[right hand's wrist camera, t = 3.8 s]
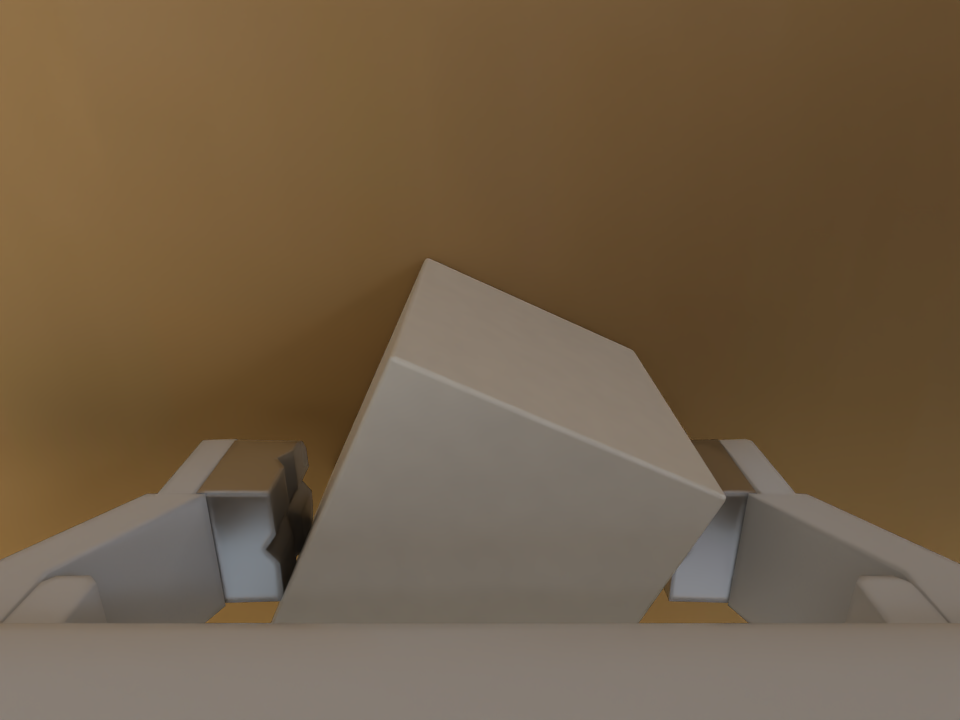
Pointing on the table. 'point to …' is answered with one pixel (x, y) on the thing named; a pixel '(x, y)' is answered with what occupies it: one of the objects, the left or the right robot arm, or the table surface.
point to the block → (501, 475)
